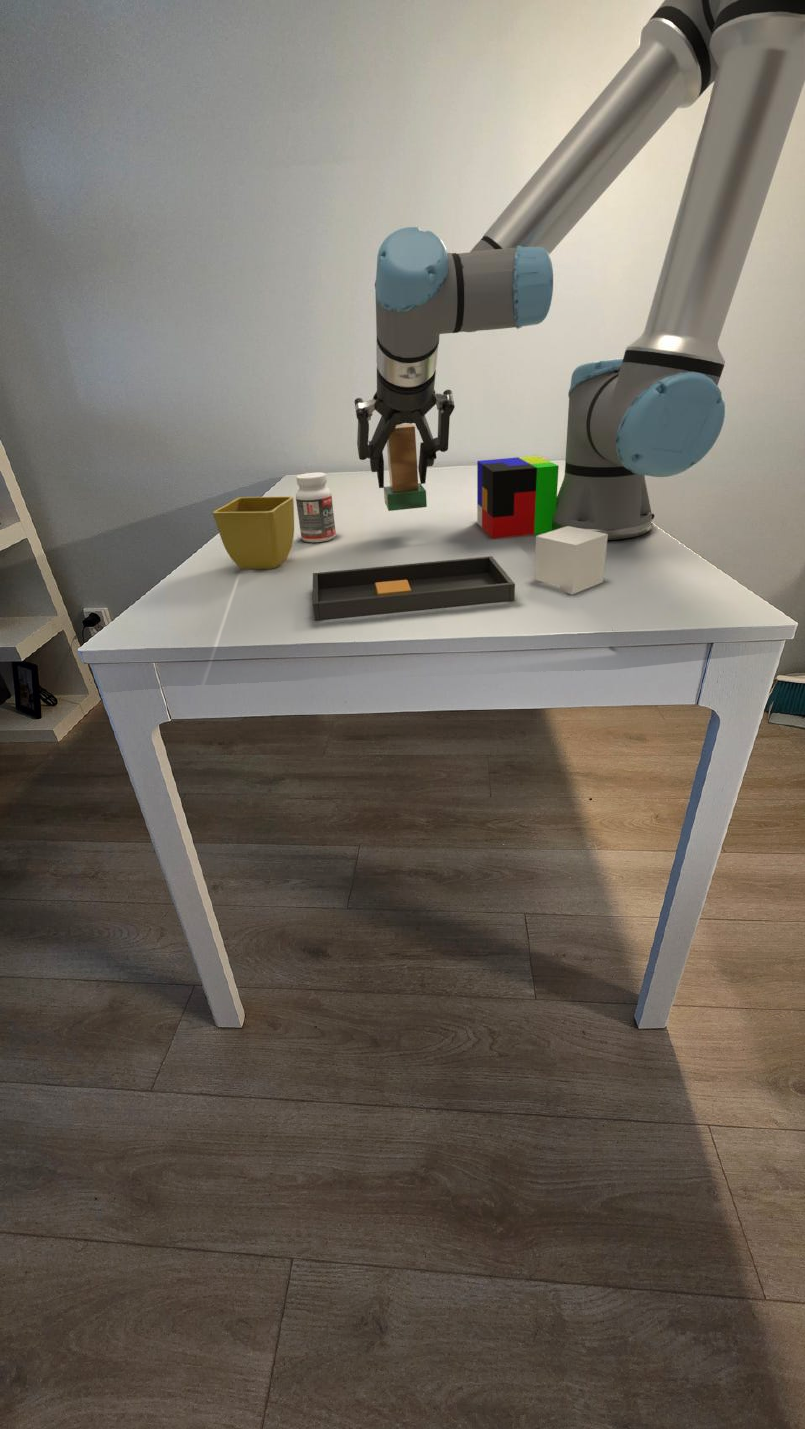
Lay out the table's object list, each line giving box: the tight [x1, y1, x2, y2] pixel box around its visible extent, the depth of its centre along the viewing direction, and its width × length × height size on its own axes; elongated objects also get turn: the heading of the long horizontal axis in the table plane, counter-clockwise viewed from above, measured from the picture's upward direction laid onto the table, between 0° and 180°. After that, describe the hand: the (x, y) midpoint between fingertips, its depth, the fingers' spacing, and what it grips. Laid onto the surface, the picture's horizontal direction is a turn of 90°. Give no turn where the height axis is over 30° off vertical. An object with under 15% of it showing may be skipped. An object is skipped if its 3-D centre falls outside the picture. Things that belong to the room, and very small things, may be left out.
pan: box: [312, 555, 516, 622], centre depth 78 cm, size 23×11×3 cm, turn 97°
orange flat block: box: [375, 580, 411, 596], centre depth 78 cm, size 4×4×1 cm
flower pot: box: [212, 496, 295, 570], centre depth 92 cm, size 9×9×9 cm
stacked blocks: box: [383, 423, 428, 512], centre depth 99 cm, size 6×6×12 cm
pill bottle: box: [295, 471, 337, 543], centre depth 103 cm, size 6×6×10 cm
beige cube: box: [533, 526, 608, 596], centre depth 79 cm, size 6×6×6 cm
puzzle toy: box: [476, 455, 560, 539], centre depth 102 cm, size 10×10×10 cm
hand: (401, 478), depth 103 cm, fingers closed on stacked blocks, 6 cm apart
